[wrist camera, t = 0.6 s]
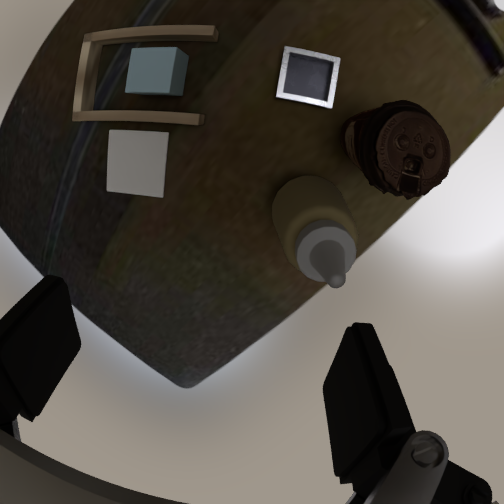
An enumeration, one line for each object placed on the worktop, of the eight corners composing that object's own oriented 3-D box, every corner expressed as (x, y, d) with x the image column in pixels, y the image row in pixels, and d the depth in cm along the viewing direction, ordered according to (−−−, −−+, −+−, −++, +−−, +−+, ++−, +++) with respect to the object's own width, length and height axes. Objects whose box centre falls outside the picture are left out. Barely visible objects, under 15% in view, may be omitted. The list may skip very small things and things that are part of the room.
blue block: (149, 56, 28) (132, 48, 23) (189, 56, 28) (176, 47, 23) (143, 94, 30) (125, 92, 25) (182, 96, 30) (169, 92, 26)
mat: (110, 129, 32) (109, 129, 31) (169, 132, 32) (168, 132, 32) (107, 190, 35) (106, 191, 35) (163, 197, 35) (162, 197, 35)
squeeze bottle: (278, 162, 33) (290, 206, 17) (345, 178, 33) (412, 236, 17) (264, 227, 36) (261, 320, 20) (327, 240, 37) (368, 335, 20)
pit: (283, 50, 27) (284, 45, 25) (336, 61, 27) (340, 58, 26) (275, 98, 30) (276, 96, 28) (328, 109, 30) (332, 108, 28)
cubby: (96, 38, 26) (84, 33, 23) (219, 33, 27) (214, 25, 24) (85, 119, 31) (72, 121, 28) (203, 124, 31) (197, 125, 29)
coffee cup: (359, 189, 34) (403, 227, 22) (314, 136, 31) (342, 146, 20) (409, 145, 31) (471, 163, 19) (368, 90, 28) (420, 79, 17)
